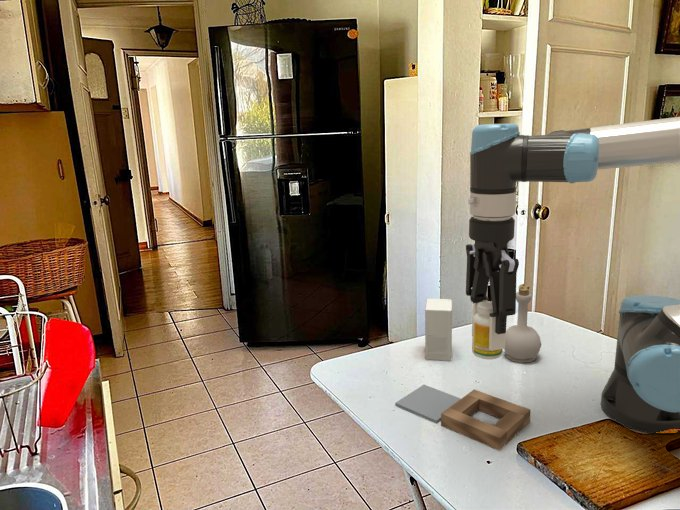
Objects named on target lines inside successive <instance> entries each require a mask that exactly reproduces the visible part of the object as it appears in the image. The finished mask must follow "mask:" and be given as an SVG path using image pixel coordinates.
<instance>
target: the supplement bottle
mask: <svg viewBox="0 0 680 510" xmlns="http://www.w3.org/2000/svg"><path fill="white" fill-rule="evenodd" d="M477 312H478V313H476V314H475V315H474V317H473V335H472V334H471V338H472V340H471V342H472V343H471V351H472V354H473V355H474V356H475V357H477V358H480V359H483V360H497V359H500V357H501V356H502V355H503V349H499V350H492V351H491V350H490V349H489V331H490V315H489V314H490V313H493V307H492V300H491V301H490V300H484V301H482V302H479V303H478V304H477Z"/></svg>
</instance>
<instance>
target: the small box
mask: <svg viewBox="0 0 680 510" xmlns="http://www.w3.org/2000/svg"><path fill="white" fill-rule="evenodd" d="M425 301H426V302H425V309H424V318H425V320H424V324H425V325H424V326H425V327H424V330H425V331H424V333H425V335H424V339H425V340H424V341H425V342H424V343H425V344H424V346H425V347H424V351H425V352H424V353H425V354H424V359H425V360H426V361H442V362H443V361H445V362H446V361H447V362H451V361H452V355H453V354H452V353H453V351H452V350H453V348H452V347H453V346H452V345H453V299H451V298H449V299H448V298H426V300H425Z"/></svg>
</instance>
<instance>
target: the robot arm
mask: <svg viewBox="0 0 680 510" xmlns="http://www.w3.org/2000/svg"><path fill="white" fill-rule="evenodd" d="M520 133H521V132H520V129H519V125H518V124H517V123H488V124H487V123H484V124H479V125H476V126H475V127H474V128H473V129H472V131H471V144H470V145H471V147H470V152H469V155H470V157H469V159H470V160H469V162H470V164H469V168H470V169H469V170H470V171H469V172H470V174H469V180H470V181H469V182H470V183H469V193H470V194H469V199H468V204H469V214H470V215H471V216H470V218H469V220H468V238H469V239H471V240H473V242H474V243H470V244H469V243H468V244H466V245H465V251H466V271H465V272H466V274H465V275H466V276H465V277H466V279H465V294H466V296H467V297H470V301H471V303H472V312H471V314H472V315H471V316H472V317H471V318H472V319H471V336H472V335H473V317H474V315H475V314H476V313H478V312H477V304H478V303H479V302H482V301H489V297H488V296H487V292H488V287H489V289H490V298H491V301H492V307H493V313H490V314H489V315H490V331H489V349H490V350H491V351H492V350H499V349H502V350H504V349H505V333H506V331H507V322H508V321H507V320H508V319H507V318H508V317H509V316H514V315H516V310H517V309H516V306H517V300H516V293H517V274H518V273H517V272H518V270H519V265H520V261H519V259H517V258H511V257H510V255H509V254H510V252H509V248H508V247H509V246H508V243H509V242H510V241H512V240H513V239H514V238H515V225H516V224H515V221H516V220H515V219H514V217H513V216H515V215H516V209H517V208H516V206H517V204H516V203H517V183H519V182H520V183H526V182H531V183H532V182H535V183H537V182H538V183H569V184H575V183H589V182H592V181H594V180H595V179H596V177H597V175H598V171H599V170H611V169H620V168H622V169H623V168H633V167H642V166H643V167H645V166H653V165H654V166H655V165H665V164H666V165H667V164H676V163H680V116H677V117H676V116H675V117H668V118H667V117H666V118H659V119H651V120H642V121H633V122H625V123H619V124H612V125H609V124H607V125H602V126H601V125H600V126H593V127H590V128H589V127H588V128H587V127H586V128H577V129H569V130H564V129H560V130H555V131H551V132H549V133H547V134H540V135H528V134H527V135H525V134H520ZM618 314H619V320H618V328H617V329H618V330H617V338H616V348H615V349H616V350H615V355H614V357H615V358H614V369H613V371H612V372H611V374H610V377H609V378H608V380H607V382H606V384H605V386H604V388H603V390H602V392H601V396H600V397H601V399H600V406H601V407H600V408H601V409H602V411H603V412H604V414H605V415H607V416H608V417H609V418H611V419H612V420H613V421H614V422H617V424H618V423H619V424H620V425H623V426H625V427H628V428H630V429H633V430H636V431H640V432H644V433H648V434H655V433H656V432H660V431H664V430H668V429H674V428H680V299H679V298H673V297H668V296H660V295H649V294H648V295H644V294H635V295H630V296H626V297H624V298H623V299H622V300H621V303H620V308H619V310H618Z"/></svg>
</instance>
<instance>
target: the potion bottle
mask: <svg viewBox="0 0 680 510" xmlns="http://www.w3.org/2000/svg"><path fill="white" fill-rule="evenodd" d="M532 297H533V294H532V293H531V292H530V285H529V284H528V283H521V284H519V286H518V291H516V303H517V305H518V307H517V321H516V322H517V323H516V324H514V325H512V326H509V327H508V328H506V333H505V349H503V350H504V354H506V358H507V359H509V360H510V361H512V362H515V363H520V364H522V363H523V364H528V363H532V362H534V361H535V360H536V358H537V357H538V355H539V353H540V350H541V347H542V341H541V337H540V334H539V333H538V331H537V330H536V329H535V328H533V327H532V326H528V313H529V312H528V311H529V309H528V308H529V303H530V302H531V301H532Z"/></svg>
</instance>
